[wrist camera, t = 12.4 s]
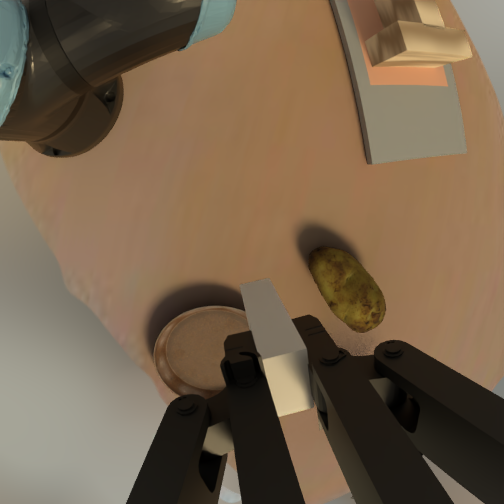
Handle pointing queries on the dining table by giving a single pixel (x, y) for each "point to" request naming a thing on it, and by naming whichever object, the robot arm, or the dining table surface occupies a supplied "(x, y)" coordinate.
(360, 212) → the dining table surface
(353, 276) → the potato
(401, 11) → the t block
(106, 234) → the dining table surface
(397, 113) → the board
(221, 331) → the plant saucer
